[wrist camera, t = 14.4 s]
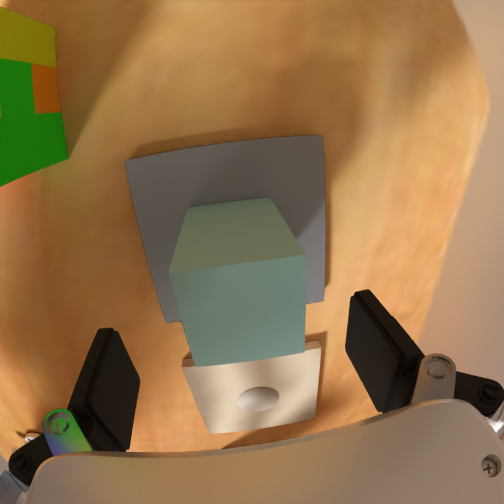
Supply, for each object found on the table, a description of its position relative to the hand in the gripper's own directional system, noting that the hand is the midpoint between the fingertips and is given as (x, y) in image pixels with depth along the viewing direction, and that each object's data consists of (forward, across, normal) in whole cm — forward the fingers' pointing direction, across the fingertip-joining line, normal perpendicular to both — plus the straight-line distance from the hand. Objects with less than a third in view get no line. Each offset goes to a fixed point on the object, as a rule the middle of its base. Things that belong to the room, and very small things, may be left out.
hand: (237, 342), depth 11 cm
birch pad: (+10, -1, +16) cm, 19 cm away
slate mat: (+10, -1, -1) cm, 10 cm away
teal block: (+9, -1, -1) cm, 9 cm away
